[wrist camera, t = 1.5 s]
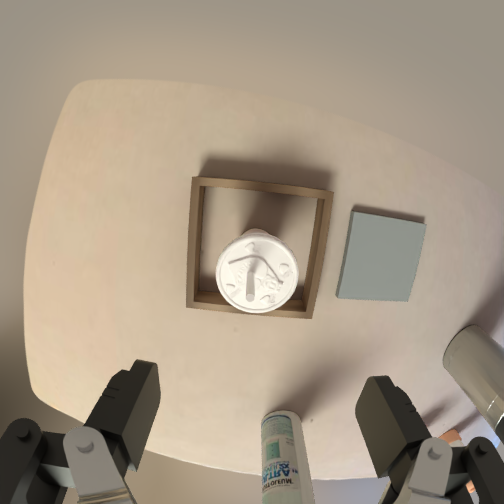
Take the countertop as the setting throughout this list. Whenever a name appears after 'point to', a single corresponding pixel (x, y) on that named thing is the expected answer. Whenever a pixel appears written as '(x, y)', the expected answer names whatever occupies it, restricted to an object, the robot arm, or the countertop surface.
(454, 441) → the salt shaker
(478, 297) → the countertop surface
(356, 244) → the mat
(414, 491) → the robot arm
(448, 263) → the countertop surface
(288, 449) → the spray can
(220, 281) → the smoothie
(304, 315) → the frame
